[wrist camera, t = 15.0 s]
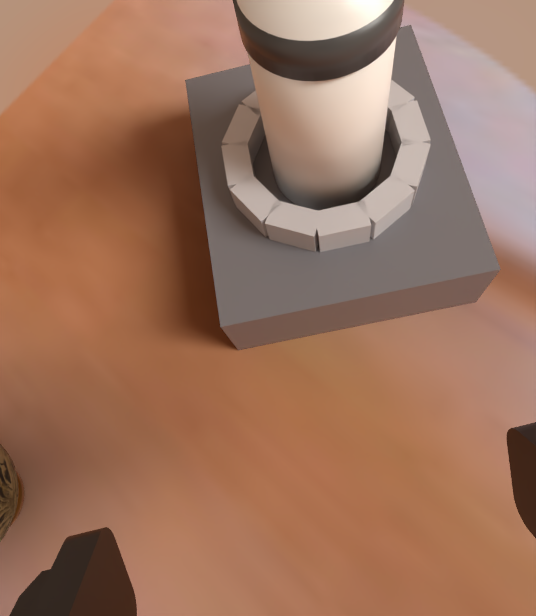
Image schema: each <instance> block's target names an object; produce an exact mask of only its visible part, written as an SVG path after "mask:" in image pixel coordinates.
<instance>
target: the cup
mask: <svg viewBox="0 0 536 616" xmlns="http://www.w3.org/2000/svg"><path fill="white" fill-rule="evenodd" d="M23 502H24V486H23V482H22V479H21V477H20V476H19V474H18V473H17V471H16V470H15V466H14V464H13V462H12V460H11V458H10V456H9V454H8V453H7V452H6V450H5V449H4V448H3V447H2V446H1V445H0V542H1V540H2V539H3V537H4V536H5V534H6V532H7V531H8V529H9V527H10V526H11V525H12V524H13V523H14V521H15V520H16V519H17V517H18V515H19V513H20V511H21V509H22V506H23Z"/></svg>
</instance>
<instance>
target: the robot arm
mask: <svg viewBox="0 0 536 616" xmlns="http://www.w3.org/2000/svg"><path fill="white" fill-rule="evenodd" d="M507 446H508V454H509V462H510V470H511V478H512V486H513V494H514V500H515V503H516V507H517V509H518V512H519V514H520V516H521V518H522V520H523V522H524V524H525V525H526V527H527V528H528V530H529V531H530V532H531V533H532V534H533V536H534V537H535V538H536V422H535V423H531V424H527V425H523V426H519V427H515V428H511V429H509V430H508V432H507ZM10 616H137V608H136V599H135V594H134V590H133V587H132V584H131V582H130V579H129V576H128V573H127V570H126V568H125V565H124V562H123V559H122V557H121V554H120V551H119V548H118V545H117V543H116V540H115V537H114V535H113V533H112V531H111V530H110V529H109V528H107V527H106V528H101V529H97V530H93V531H89V532H85V533H81V534H77V535H73V536H69V537H67V538H66V540H65V541H64V543H63V545H62V547H61V549H60V551H59V553H58V555H57V558H56V560H55V562H54V564H53V566H52V568H51V569H50V570H46V571H42V572H41V573H40V574H39V575H38V576H37V577H36V579H35V580H34V581H33V582H32V583H31V584H30V585H29V586H28V587H27V589H26V590H25V591H24V592H23V593H22V594H21V595H20V596H19V598H18V600H17V602H16V604H15V606H14V608H13V610H12V612H11V614H10Z"/></svg>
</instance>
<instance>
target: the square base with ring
mask: <svg viewBox="0 0 536 616" xmlns="http://www.w3.org/2000/svg"><path fill="white" fill-rule="evenodd" d="M185 81H186V88H187V95H188V102H189V109H190V116H191V123H192V131H193V138H194V145H195V152H196V159H197V166H198V173H199V180H200V187H201V194H202V201H203V208H204V215H205V222H206V229H207V236H208V243H209V250H210V257H211V264H212V271H213V278H214V285H215V292H216V299H217V306H218V313H219V320H220V327H221V328H222V330H223V331H224V332H225V334H226V335H227V336H228V337H229V339H230V340H231V341H232V343H233V344H234V345H235V347H236V348H237V349H238V350H241V349H246V348H251V347H256V346H261V345H266V344H271V343H276V342H281V341H286V340H291V339H296V338H300V337H305V336H310V335H315V334H320V333H325V332H330V331H335V330H340V329H345V328H350V327H355V326H360V325H365V324H370V323H374V322H379V321H384V320H389V319H394V318H399V317H404V316H409V315H414V314H419V313H424V312H429V311H434V310H439V309H444V308H448V307H453V306H458V305H463V304H468V303H473V302H476V301H477V300H478V299H479V297H480V296H481V295H482V293H483V292H484V291H485V289H486V288H487V287H488V285H489V284H490V283H491V281H492V280H493V279H494V277H495V276H496V275H497V273H498V272H499V271H500V267H499V264H498V261H497V258H496V256H495V253H494V250H493V247H492V245H491V242H490V239H489V237H488V234H487V231H486V228H485V226H484V223H483V220H482V217H481V215H480V212H479V209H478V207H477V204H476V201H475V198H474V196H473V193H472V190H471V188H470V185H469V182H468V179H467V177H466V174H465V171H464V168H463V166H462V163H461V160H460V158H459V155H458V152H457V149H456V147H455V144H454V141H453V138H452V136H451V133H450V130H449V128H448V125H447V122H446V119H445V117H444V114H443V111H442V109H441V106H440V103H439V100H438V98H437V95H436V92H435V89H434V87H433V84H432V81H431V79H430V76H429V73H428V70H427V68H426V65H425V62H424V59H423V57H422V54H421V51H420V49H419V46H418V43H417V40H416V38H415V35H414V32H413V30H412V27H411V25H409V26H405V27H401V28H400V29H399V31H398V33H397V36H396V44H395V52H394V60H393V68H392V76H391V84H390V92H389V100H388V109H387V117H386V125H385V133H384V141H383V149H382V157H381V165H380V172H379V176H378V178H377V181H376V183H375V184H374V186H373V188H372V189H371V190H370V191H369V193H368V194H367V195H366V196H365V197H363V198H362V199H361V200H359V201H358V202H355V203H351V204H346V205H342V206H337V207H333V208H328V209H323V210H319V211H317V210H313V209H309V208H305V207H301V206H298V205H296V204H294V203H293V202H291V201H290V200H289V199H288V198H286V197H285V195H284V194H283V193H282V192H281V190H280V189H279V187H278V185H277V183H276V180H275V177H274V172H273V167H272V163H271V158H270V154H269V149H268V144H267V140H266V135H265V131H264V126H263V121H262V117H261V112H260V108H259V103H258V98H257V94H256V89H255V85H254V80H253V75H252V71H251V66H250V64H249V65H245V66H241V67H237V68H233V69H229V70H225V71H221V72H216V73H212V74H208V75H204V76H200V77H196V78H192V79H188V80H185Z"/></svg>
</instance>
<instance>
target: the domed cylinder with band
mask: <svg viewBox="0 0 536 616" xmlns="http://www.w3.org/2000/svg"><path fill="white" fill-rule="evenodd" d="M233 3H234V8H235V12H236V17H237V21H238V26H239V30H240V35H241V38H242V42H243V45H244V47H245V49H246V51H247V52H248V57H249V61H250V66H251V71H252V75H253V80H254V85H255V89H256V94H257V98H258V103H259V108H260V112H261V117H262V121H263V126H264V131H265V135H266V140H267V144H268V149H269V154H270V158H271V163H272V167H273V172H274V177H275V180H276V183H277V185H278V187H279V189H280V190H281V192H282V193H283V194H284V195H285V197H286V198H288V199H289V200H290V201H291V202H293V203H294V204H296V205H298V206H301V207H305V208H309V209H313V210H317V211H319V210H323V209H328V208H333V207H337V206H342V205H346V204H351V203H355V202H358V201H359V200H361V199H362V198H363V197H365V196H366V195H367V194H368V193H369V191H370V190H371V189H372V188H373V186H374V184H375V183H376V181H377V178H378V176H379V172H380V165H381V157H382V149H383V141H384V133H385V125H386V117H387V109H388V100H389V92H390V84H391V76H392V68H393V60H394V52H395V44H396V36H397V33H398V31H399V29H400V25H401V22H402V15H403V7H404V0H233Z"/></svg>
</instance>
